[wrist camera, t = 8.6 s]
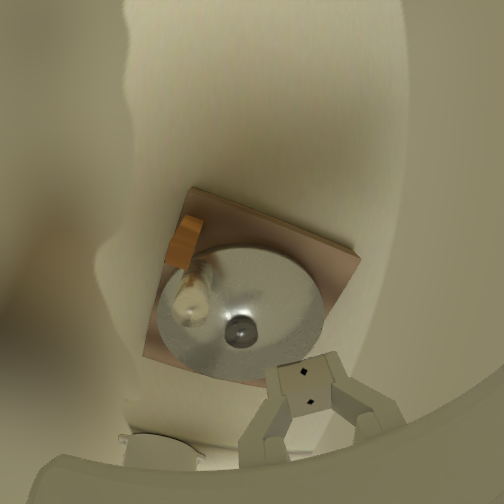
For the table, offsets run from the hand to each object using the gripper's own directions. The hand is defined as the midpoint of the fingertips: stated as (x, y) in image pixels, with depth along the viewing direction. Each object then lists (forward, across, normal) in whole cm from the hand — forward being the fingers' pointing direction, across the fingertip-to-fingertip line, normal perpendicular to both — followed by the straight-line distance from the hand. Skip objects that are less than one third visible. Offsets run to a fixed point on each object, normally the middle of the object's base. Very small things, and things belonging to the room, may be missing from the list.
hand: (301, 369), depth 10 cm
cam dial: (+14, +4, +7) cm, 16 cm away
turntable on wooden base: (+16, +4, +7) cm, 18 cm away
